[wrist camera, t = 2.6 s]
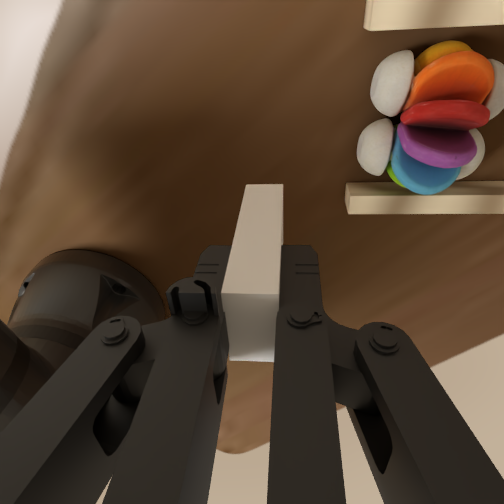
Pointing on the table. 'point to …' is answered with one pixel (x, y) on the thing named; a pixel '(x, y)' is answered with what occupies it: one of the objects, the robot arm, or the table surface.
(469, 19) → the channel
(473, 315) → the table surface
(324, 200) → the table surface
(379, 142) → the rainbow disc toy
